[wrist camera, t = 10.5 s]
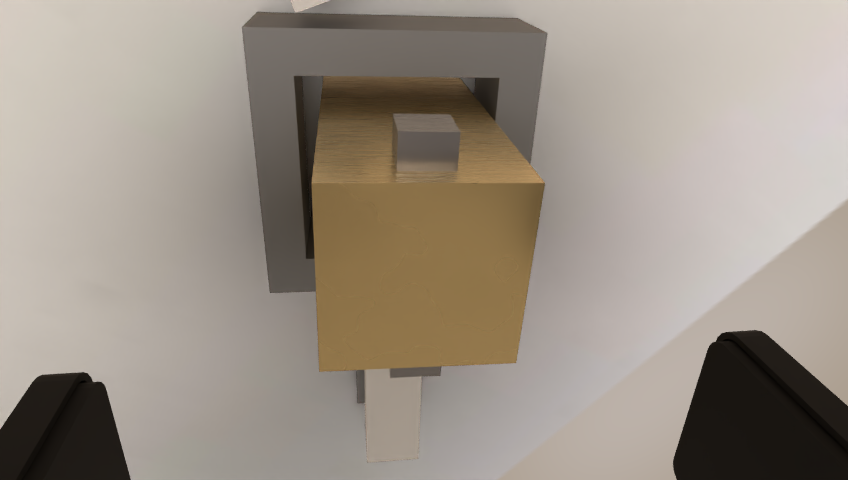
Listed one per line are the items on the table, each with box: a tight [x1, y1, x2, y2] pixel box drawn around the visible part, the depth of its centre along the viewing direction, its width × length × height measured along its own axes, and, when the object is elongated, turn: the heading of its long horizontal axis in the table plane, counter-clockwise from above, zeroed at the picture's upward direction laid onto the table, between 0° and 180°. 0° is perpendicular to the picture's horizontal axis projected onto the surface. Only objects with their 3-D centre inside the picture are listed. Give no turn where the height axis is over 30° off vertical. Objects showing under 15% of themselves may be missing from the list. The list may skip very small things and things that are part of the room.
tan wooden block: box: [312, 76, 545, 378], centre depth 16 cm, size 4×6×9 cm
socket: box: [242, 0, 547, 463], centre depth 18 cm, size 9×24×3 cm, turn 178°
